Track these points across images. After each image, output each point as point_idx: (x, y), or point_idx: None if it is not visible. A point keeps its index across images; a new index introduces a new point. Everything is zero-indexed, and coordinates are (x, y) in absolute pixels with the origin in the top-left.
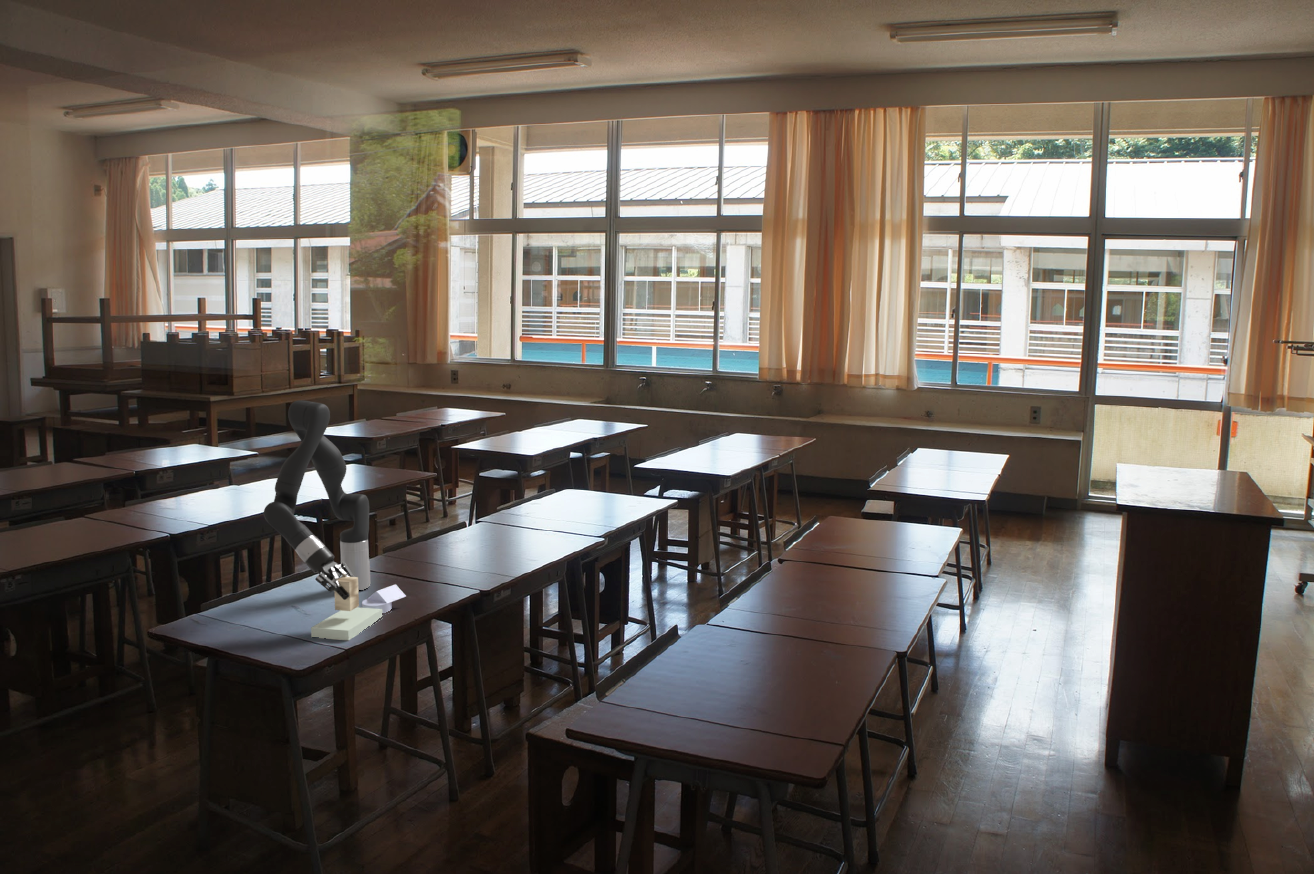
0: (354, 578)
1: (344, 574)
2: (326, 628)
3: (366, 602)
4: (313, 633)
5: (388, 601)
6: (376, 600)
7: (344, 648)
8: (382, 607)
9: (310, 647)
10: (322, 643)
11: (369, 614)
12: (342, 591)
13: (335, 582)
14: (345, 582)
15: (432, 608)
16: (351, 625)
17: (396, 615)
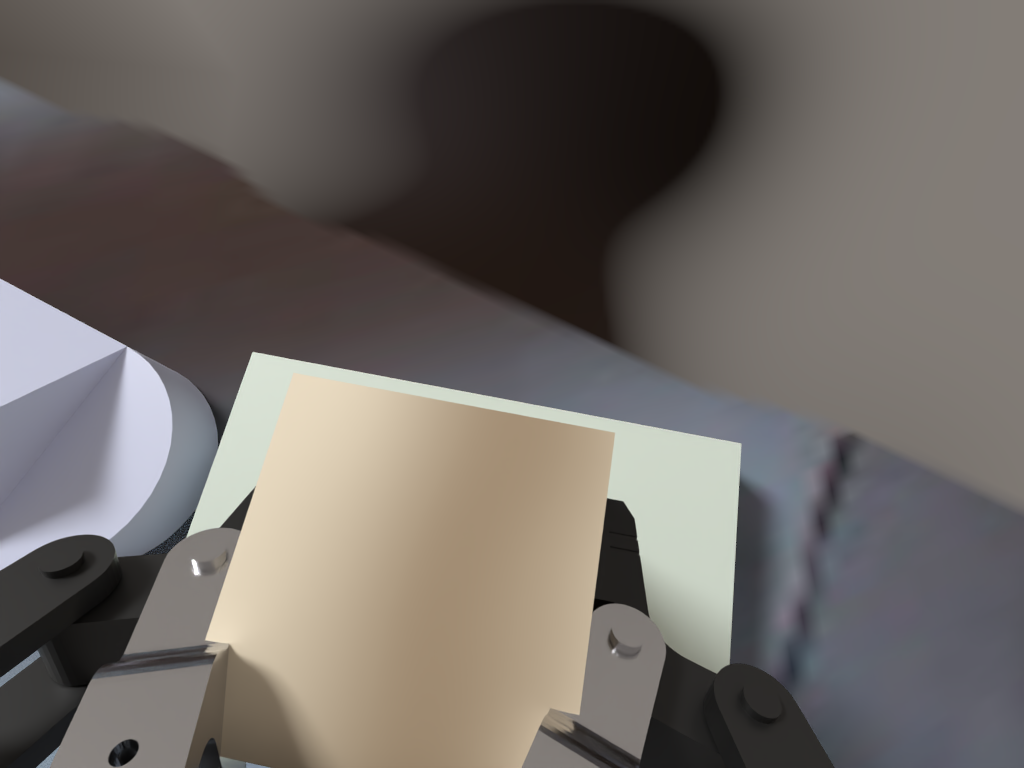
0: (370, 414)
1: (210, 694)
2: (721, 638)
3: (64, 526)
4: None
5: (96, 341)
6: (39, 448)
7: (840, 434)
8: (171, 380)
9: (875, 674)
10: (788, 616)
11: None
12: (627, 557)
13: (640, 744)
14: (602, 517)
15: (119, 141)
16: (633, 458)
17: (229, 306)
